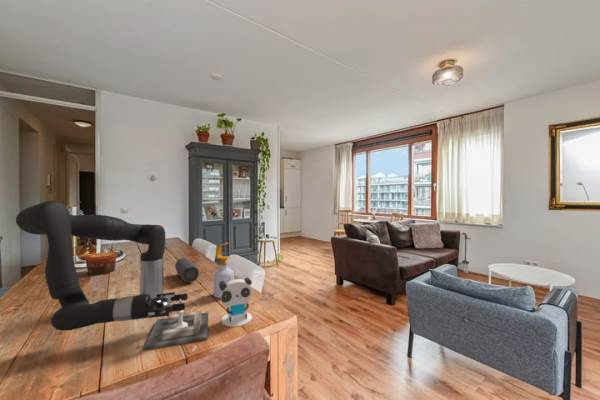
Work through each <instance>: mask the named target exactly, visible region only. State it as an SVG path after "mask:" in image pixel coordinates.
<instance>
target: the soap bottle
mask: <svg viewBox="0 0 600 400" xmlns="http://www.w3.org/2000/svg"><path fill="white" fill-rule="evenodd" d="M228 244H229V242H225V243H221V244H219V245H217V246H216V247H215V257H216V259H217V260H220V261H221V262H220V264H219V269H217V270H216V271H215V272H214V273H213V296H214V297H215V298H218V299H221V297H220V292H221V290H220V287H219V283H220V282H221V281H225V283H227V282H228V281H231V280H234V279H235V274H234V271H233V270H232V269H231V268H229V267H228V262H226V261H228V259H229V258H230V256H227V255H226V256H224V255H222V246H225V245H228Z"/></svg>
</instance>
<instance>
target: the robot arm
mask: <svg viewBox="0 0 600 400" xmlns="http://www.w3.org/2000/svg"><path fill="white" fill-rule="evenodd" d="M70 213H71V212H70V210H69V208H68V207H67V206H66V205H65V204H64V203H62V202H60V201H57V200H46V201H43V202H40V203H37V204H33V205H31V206H28V207H26V208H24V209H22V210H21V211H19V212H18V213H17V215H16V217H15V222H16V226H17V227H19V229H20V230H22V231H24V232H25V233H28V234H31V235H42V236H43V235H44V236H45V235H46V239H47V243H48V254H47V258H46V263H45V268H44V271H45V272H44V275H45V281H46V285H47V289H48V292H49V293H48V294H49V295H50V297H51V299H53V300H58V302H59V304H60V306H61V308H59V309H58V310H56V311H55V312H54V313H53V315H52V317H51V319H50V322H51V324H50V325H51V326H52V327H53V328H54V329H55V330H58V331H63V332H64V331H73V330H78V329H82V328H86V327H90V326H93V325H96V324H105V323H106V324H107V323H113V322H128V321H134V320H142V319H148V318H149V319H150V318H151V319H152V318H161V317H169V315H170V314H172V313H173V312H177V311H181V310H183V311H185V309H186V303H185V302H184V301H187V300H188V293H176V292H175V291H172V292H165V291H164V289H165V288H164V286H165V285H164V253H165V252H166V251H165V250H166V230H165V228H164V226H162V225H160V224H141V223H140V224H139V223H138V224H136V223H131V222H130V223H129V222H127V221H125V220H124V219H121V218H119V217H114V216H111V215H110V216H109V215H106V214H70ZM72 237H78V238H86V239H92V240H93V239H95V240H101V241H115V242H116V241H128V242H129V241H130V242H134V243H136V244H137V243H138V244H142V245H148V248H147V251H145V252H142V253H141V254H140V256H139V257H140V262H139V263H140V275H139V294H138V295H137V294H136V295H130V296H129V295H128V296H122V297H118V298H116V297H115V298H109V299H108V298H107V299H103V300H101V299H100V300H99V301H96V302H93V303H90V302H89V299H88V298H87V296H86V294H85V292H84V291H83V289H82V288H81V286H80V281H79V277H78V273H77V270H76V266H75V261H74V255H73V254H74V253H73V239H72ZM164 292H165V293H164ZM179 299H181V301H183V302H181V303H179V302H178V301H179ZM174 302H177V303H174ZM172 303H173V304H172Z"/></svg>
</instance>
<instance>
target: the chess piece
mask: <svg viewBox="0 0 600 400" xmlns="http://www.w3.org/2000/svg"><path fill="white" fill-rule="evenodd" d="M177 303H184V300H183V301H181V299H179V301H177ZM184 311H185V310H181V311H176V313H177V314H179V316H178V322H177V323H176V324H175V325H173V328H172V329H177V328H184V327H188V324H187V323H186V322H183V319H182V314H183V313H185V312H184Z"/></svg>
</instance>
